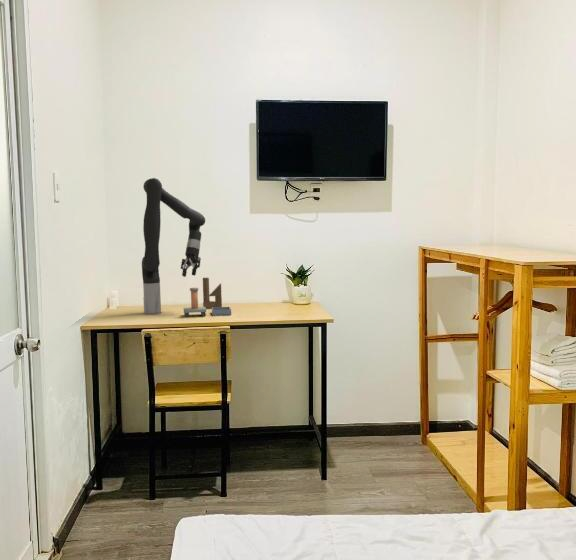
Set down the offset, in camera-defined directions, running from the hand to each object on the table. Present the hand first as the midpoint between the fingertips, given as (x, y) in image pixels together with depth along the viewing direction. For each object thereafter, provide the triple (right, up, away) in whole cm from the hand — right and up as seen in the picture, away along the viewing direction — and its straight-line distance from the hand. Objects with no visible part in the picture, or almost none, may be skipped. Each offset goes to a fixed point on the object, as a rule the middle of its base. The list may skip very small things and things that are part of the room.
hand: (188, 275), depth 329 cm
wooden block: (+11, -19, +18) cm, 28 cm away
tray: (+19, -21, -3) cm, 28 cm away
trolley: (+5, -22, -7) cm, 24 cm away
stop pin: (+5, -18, -8) cm, 20 cm away
